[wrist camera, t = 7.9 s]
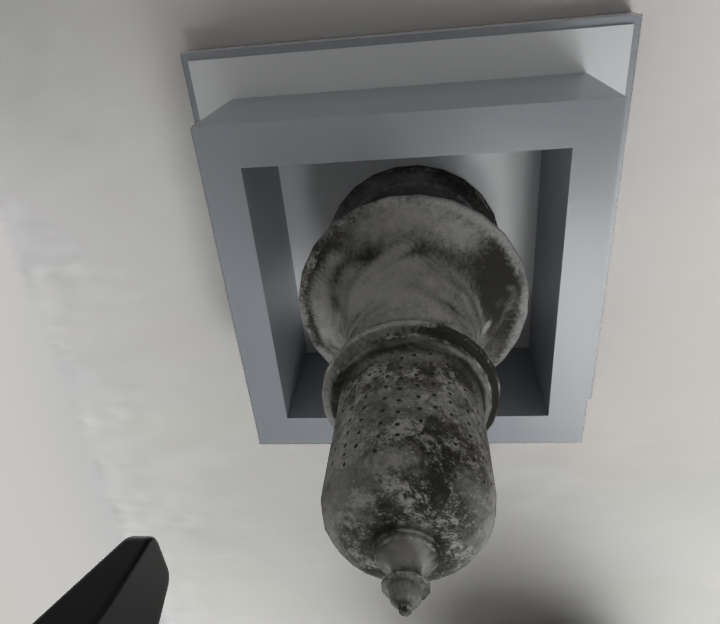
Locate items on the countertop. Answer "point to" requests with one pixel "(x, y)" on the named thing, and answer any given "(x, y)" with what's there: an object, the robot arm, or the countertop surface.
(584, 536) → the countertop surface
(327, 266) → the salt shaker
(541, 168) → the dock
